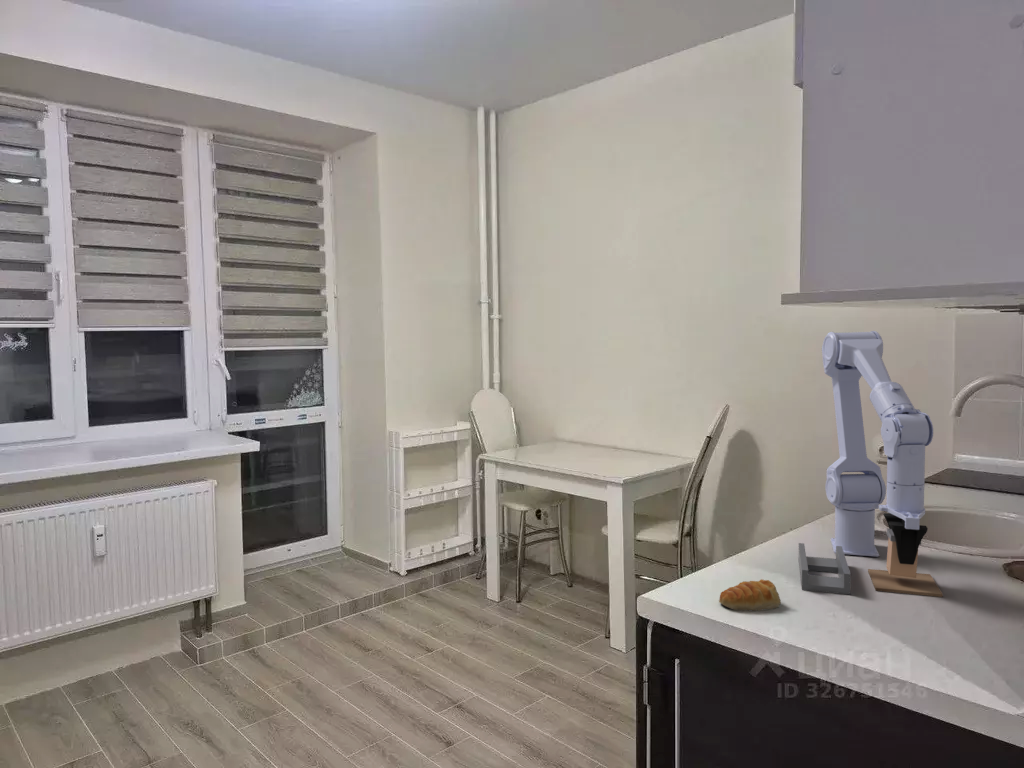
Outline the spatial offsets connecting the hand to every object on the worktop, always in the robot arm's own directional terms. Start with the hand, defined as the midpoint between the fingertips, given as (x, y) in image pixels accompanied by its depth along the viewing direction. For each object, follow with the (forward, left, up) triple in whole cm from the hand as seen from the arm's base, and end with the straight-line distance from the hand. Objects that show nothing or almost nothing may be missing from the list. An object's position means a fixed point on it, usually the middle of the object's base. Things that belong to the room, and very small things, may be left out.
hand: (903, 559), depth 124 cm
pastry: (+17, -25, -5) cm, 30 cm away
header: (0, -13, -4) cm, 14 cm away
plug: (0, 0, -2) cm, 2 cm away
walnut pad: (0, 0, -4) cm, 4 cm away
